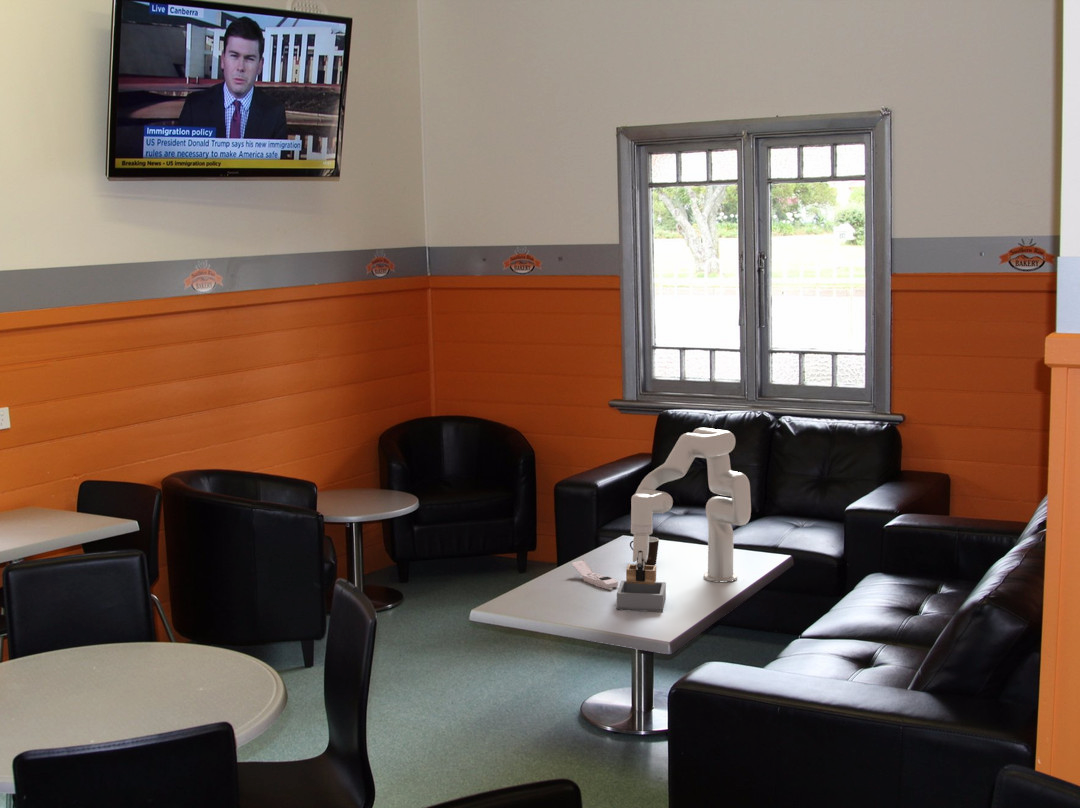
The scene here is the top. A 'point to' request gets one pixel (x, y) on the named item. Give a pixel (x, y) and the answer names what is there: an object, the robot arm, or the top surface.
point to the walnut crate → (649, 575)
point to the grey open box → (641, 597)
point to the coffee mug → (651, 550)
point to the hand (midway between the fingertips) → (641, 577)
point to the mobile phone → (594, 576)
